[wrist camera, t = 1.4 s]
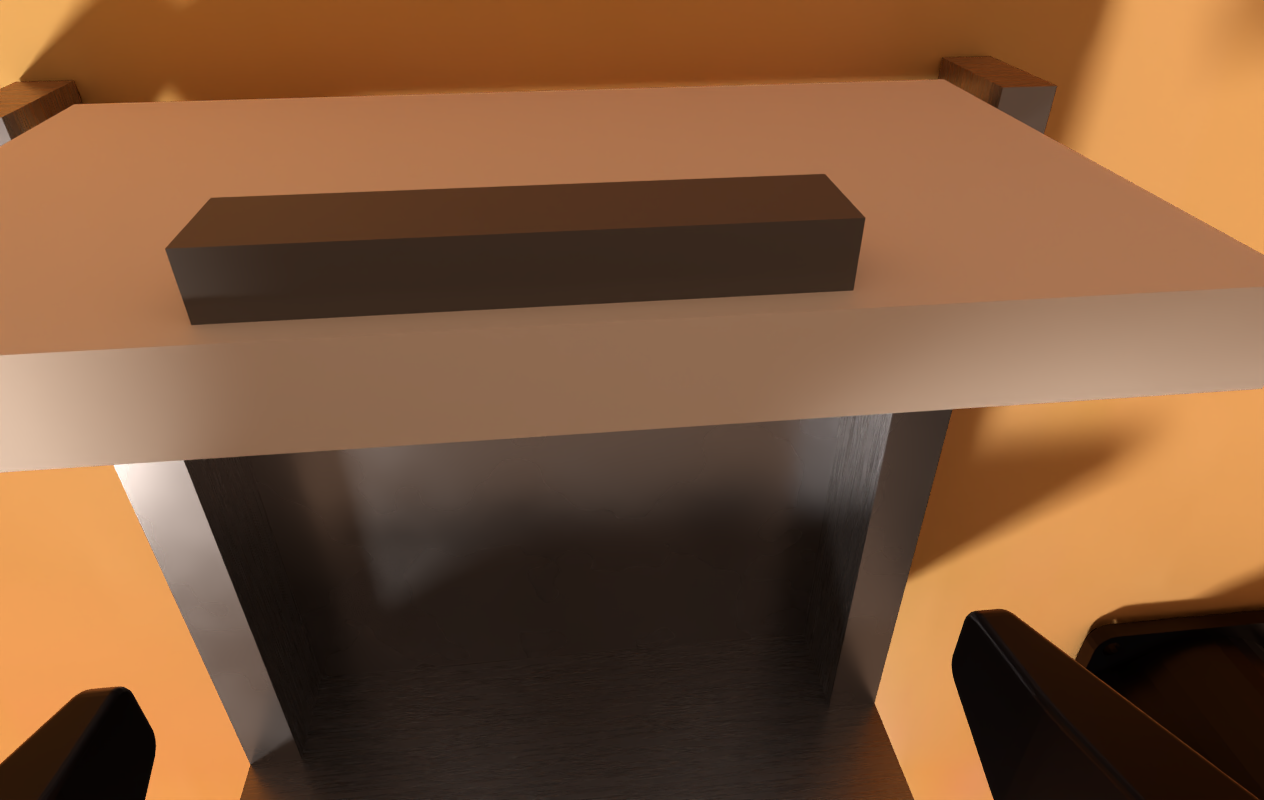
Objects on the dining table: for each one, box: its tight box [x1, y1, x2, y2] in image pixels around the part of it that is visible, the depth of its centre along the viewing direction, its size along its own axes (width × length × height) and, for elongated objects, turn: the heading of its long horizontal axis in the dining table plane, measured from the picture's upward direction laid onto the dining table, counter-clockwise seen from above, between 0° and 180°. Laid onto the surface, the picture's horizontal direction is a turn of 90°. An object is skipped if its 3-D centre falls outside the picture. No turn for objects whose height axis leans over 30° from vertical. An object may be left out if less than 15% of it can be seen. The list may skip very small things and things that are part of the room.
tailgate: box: [0, 79, 1264, 472], centre depth 9 cm, size 2×12×7 cm, turn 90°
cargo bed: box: [0, 56, 1057, 800], centre depth 13 cm, size 14×15×7 cm
